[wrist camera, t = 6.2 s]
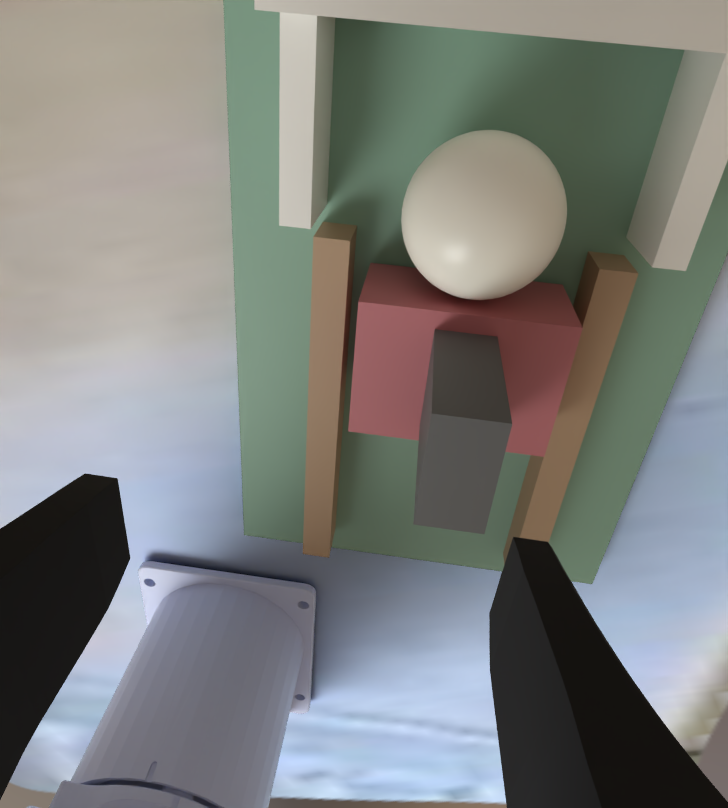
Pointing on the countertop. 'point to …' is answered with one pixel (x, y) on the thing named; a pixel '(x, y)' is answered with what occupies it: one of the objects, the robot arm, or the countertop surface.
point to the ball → (484, 214)
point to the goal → (535, 16)
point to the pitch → (383, 243)
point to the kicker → (459, 383)
